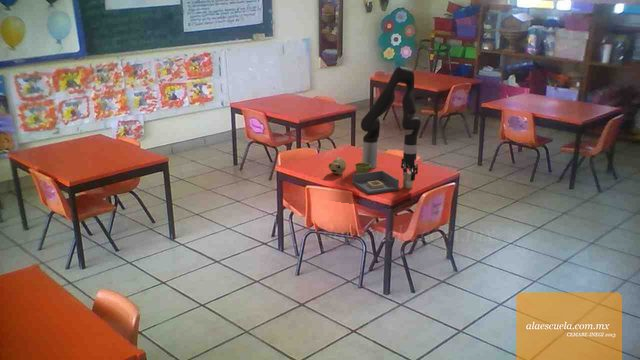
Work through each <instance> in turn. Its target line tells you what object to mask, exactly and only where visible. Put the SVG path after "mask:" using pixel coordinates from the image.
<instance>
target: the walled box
mask: <svg viewBox="0 0 640 360" xmlns="http://www.w3.org/2000/svg"><path fill="white" fill-rule="evenodd" d="M399 180H400V179H398V178H396V177H394V176H393V175H391V174H389V173H388V172H386V171H384V170H375V171H368V172H367V173H360V174H357V173H353V174H352V185H353V186H355V187H356V188H358V189H359V190H361V191H362V192H364V193H365V194H367V195H368V196H369V195H377V194H383V193H389V192H390V191H391V192H396V191H400V186H399V184H400V183H399V182H400V181H399Z"/></svg>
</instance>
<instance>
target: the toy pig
mask: <svg viewBox="0 0 640 360" xmlns="http://www.w3.org/2000/svg"><path fill="white" fill-rule="evenodd" d="M346 168H347V164H346V161H345V160H344V158H343V157H339V156H337V157H336V158H335V159H334V160H333V161H332V162H331V163H329V164H328V169H329V170H330V171H331V174H332V175H334V174H335V175H339V176H341V175H342V174H343V173H344V172H345V170H346Z"/></svg>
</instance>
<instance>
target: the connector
mask: <svg viewBox="0 0 640 360" xmlns="http://www.w3.org/2000/svg"><path fill="white" fill-rule="evenodd" d="M402 177H403V178H402V179H403V180H402V188H404V190H409V189H413V182H414V181H411V172H410V171H407V172H404V176H403V175H402Z"/></svg>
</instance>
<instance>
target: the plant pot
mask: <svg viewBox="0 0 640 360" xmlns="http://www.w3.org/2000/svg"><path fill="white" fill-rule="evenodd" d="M354 166H355V169H356V174H360V173H367V172H370V171H369V170H370V169H369V167H370V164H368V163H362V162H357V163H355V164H354Z"/></svg>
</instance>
